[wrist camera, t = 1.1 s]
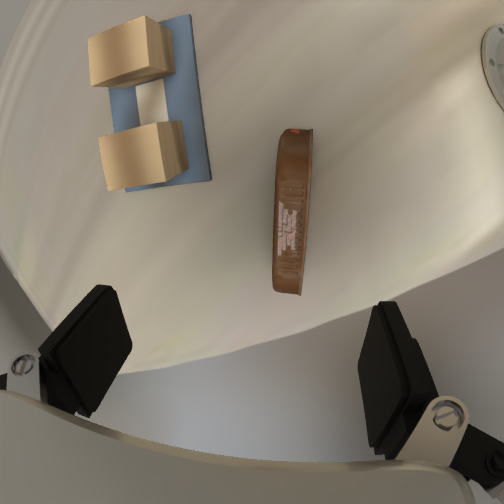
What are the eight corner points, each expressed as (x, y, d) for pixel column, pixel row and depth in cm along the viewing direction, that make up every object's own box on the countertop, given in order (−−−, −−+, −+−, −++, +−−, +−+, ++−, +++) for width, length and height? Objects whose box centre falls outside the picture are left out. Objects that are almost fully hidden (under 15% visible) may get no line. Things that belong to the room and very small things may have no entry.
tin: (303, 268, 33) (305, 315, 25) (275, 266, 33) (269, 312, 25) (313, 127, 26) (322, 131, 19) (280, 125, 26) (275, 128, 19)
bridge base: (190, 15, 22) (166, -6, 16) (211, 179, 30) (191, 196, 24) (107, 43, 24) (71, 34, 18) (128, 190, 31) (95, 209, 25)
